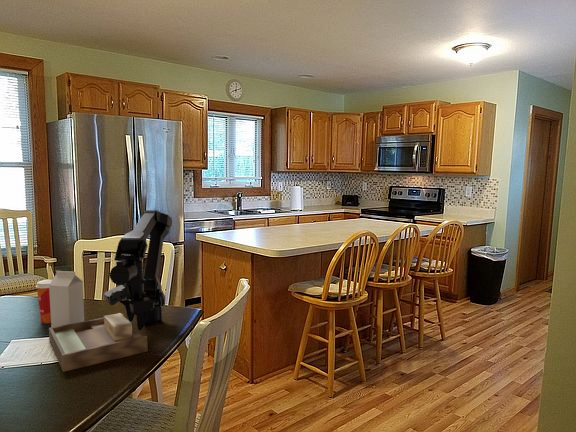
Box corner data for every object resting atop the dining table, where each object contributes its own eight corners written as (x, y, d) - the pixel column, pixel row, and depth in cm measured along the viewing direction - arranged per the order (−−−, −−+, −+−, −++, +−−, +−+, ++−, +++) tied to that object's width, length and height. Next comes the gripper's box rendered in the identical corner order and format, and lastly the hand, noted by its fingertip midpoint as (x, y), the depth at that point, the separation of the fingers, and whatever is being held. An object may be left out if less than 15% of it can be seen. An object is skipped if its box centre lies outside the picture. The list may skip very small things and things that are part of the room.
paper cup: (44, 317, 152) (42, 278, 151) (66, 316, 153) (64, 278, 151) (33, 325, 144) (30, 284, 143) (56, 324, 145) (54, 284, 144)
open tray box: (123, 326, 143) (123, 313, 143) (147, 351, 124) (147, 336, 123) (49, 342, 130) (48, 327, 130) (63, 371, 111) (62, 355, 110)
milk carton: (70, 331, 139) (67, 274, 137) (51, 329, 140) (48, 273, 138) (84, 323, 146) (82, 269, 144) (66, 322, 147) (63, 268, 145)
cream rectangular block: (120, 325, 136) (120, 312, 136) (132, 336, 127) (131, 323, 126) (104, 328, 134) (103, 315, 133) (114, 340, 124) (114, 327, 124)
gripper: (98, 274, 134) (100, 322, 136) (115, 287, 119) (116, 341, 121) (134, 269, 141) (135, 315, 142) (154, 281, 126) (155, 332, 128)
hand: (135, 325), depth 133 cm, fingers open, 9 cm apart
